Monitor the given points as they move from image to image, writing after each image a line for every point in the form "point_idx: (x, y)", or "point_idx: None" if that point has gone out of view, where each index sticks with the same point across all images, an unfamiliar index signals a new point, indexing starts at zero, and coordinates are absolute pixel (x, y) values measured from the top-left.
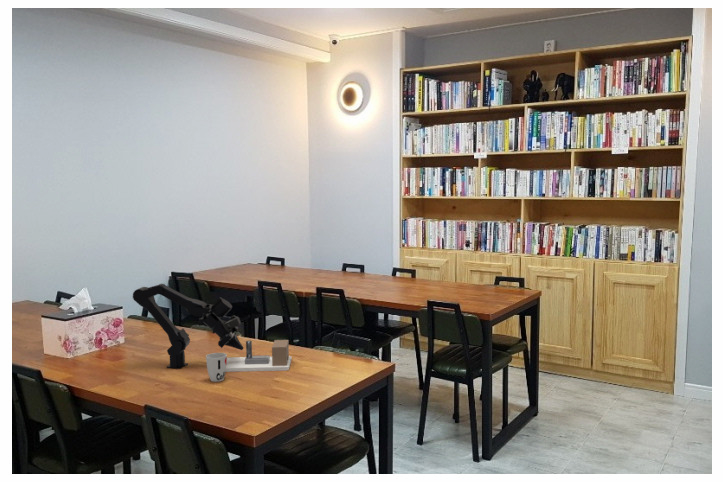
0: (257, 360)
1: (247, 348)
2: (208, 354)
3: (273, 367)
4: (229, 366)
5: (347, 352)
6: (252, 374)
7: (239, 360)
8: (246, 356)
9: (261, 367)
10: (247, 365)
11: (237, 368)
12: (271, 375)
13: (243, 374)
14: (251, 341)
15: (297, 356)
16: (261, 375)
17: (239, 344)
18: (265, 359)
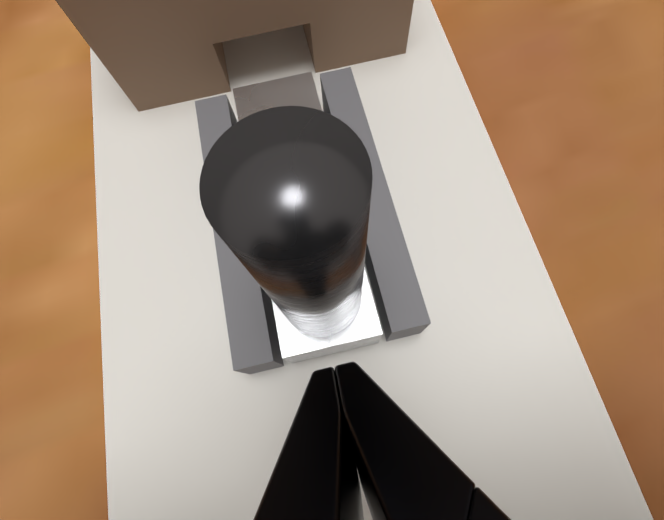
0: (381, 175)
1: (363, 259)
2: None
3: (443, 34)
4: (567, 510)
5: None
6: (595, 184)
7: (268, 476)
8: (345, 325)
9: (481, 122)
10: (454, 284)
11: (583, 367)
12: (559, 36)
13: (631, 266)
14: (288, 106)
15: (16, 20)
16: (590, 103)
17: (438, 446)
18: (358, 92)
